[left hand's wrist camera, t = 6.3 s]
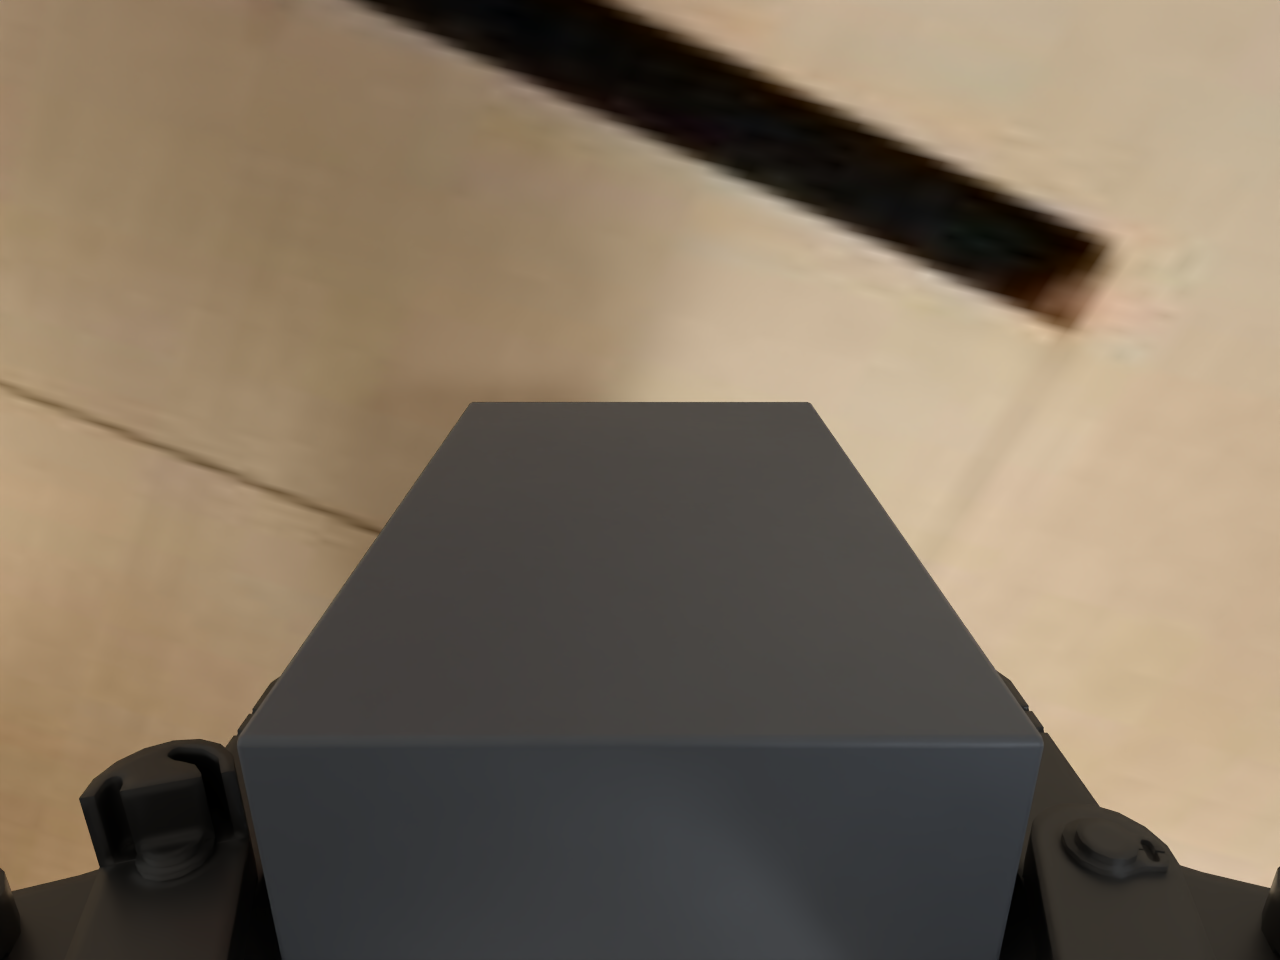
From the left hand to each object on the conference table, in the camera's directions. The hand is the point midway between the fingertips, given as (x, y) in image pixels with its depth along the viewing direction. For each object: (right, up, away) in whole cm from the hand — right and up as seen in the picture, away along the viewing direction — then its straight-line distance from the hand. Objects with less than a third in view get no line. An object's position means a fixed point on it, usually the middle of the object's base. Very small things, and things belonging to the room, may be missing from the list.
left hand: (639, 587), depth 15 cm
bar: (0, -8, +4) cm, 9 cm away
